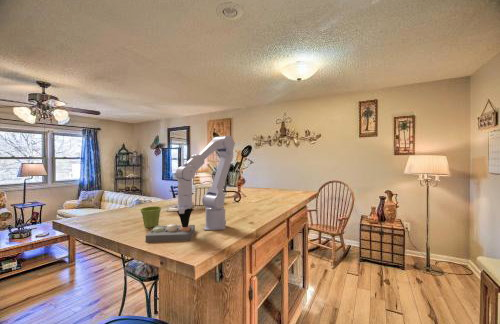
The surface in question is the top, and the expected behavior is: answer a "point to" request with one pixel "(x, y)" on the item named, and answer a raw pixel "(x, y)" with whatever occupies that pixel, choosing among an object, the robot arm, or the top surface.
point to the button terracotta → (184, 229)
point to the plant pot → (151, 216)
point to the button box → (170, 235)
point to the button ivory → (172, 228)
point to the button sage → (158, 229)
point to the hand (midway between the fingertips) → (185, 226)
